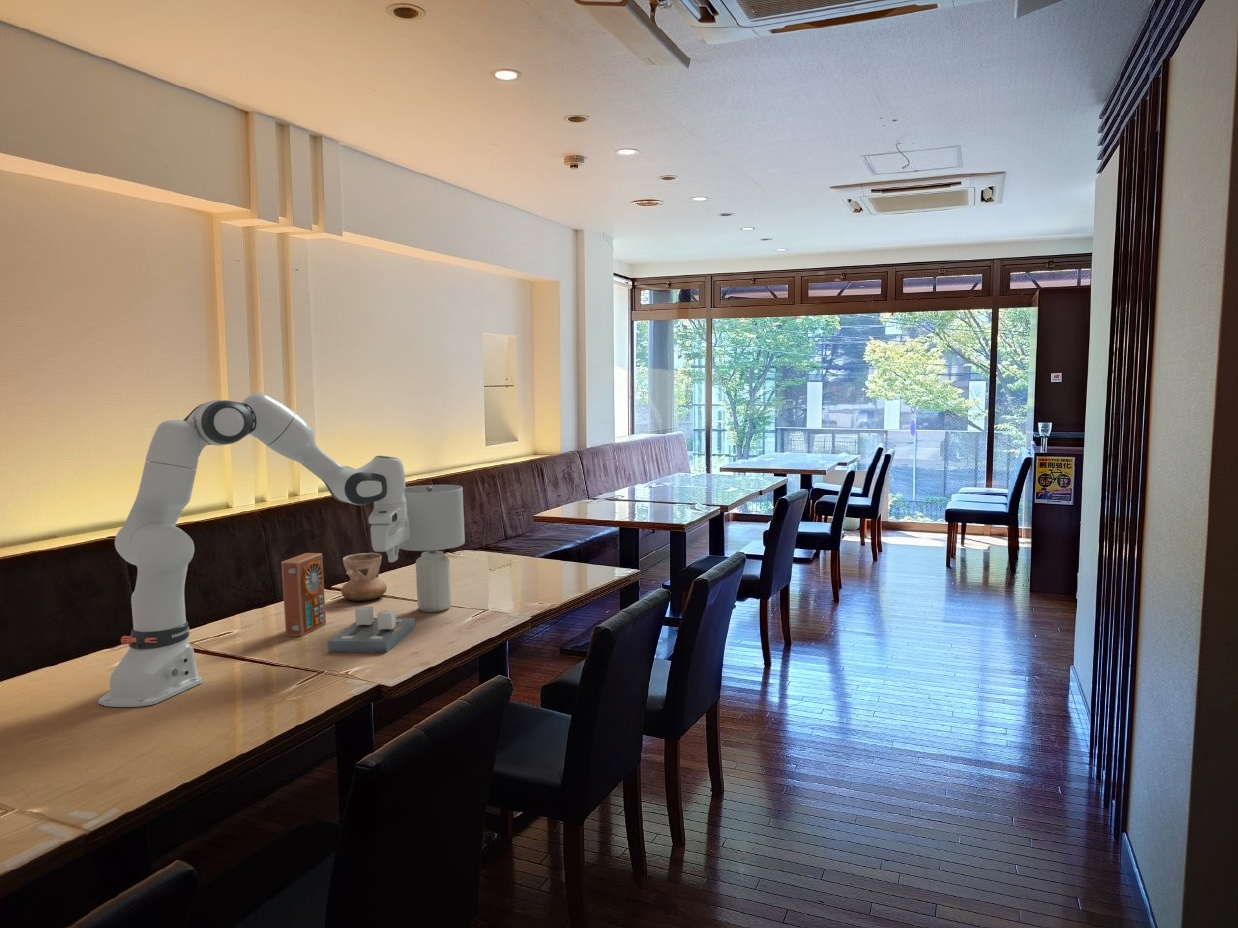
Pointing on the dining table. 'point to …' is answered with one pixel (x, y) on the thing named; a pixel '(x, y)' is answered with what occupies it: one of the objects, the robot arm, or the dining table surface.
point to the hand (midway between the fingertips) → (393, 561)
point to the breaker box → (370, 637)
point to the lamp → (434, 539)
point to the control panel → (303, 594)
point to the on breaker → (364, 615)
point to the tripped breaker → (386, 619)
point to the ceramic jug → (363, 577)
